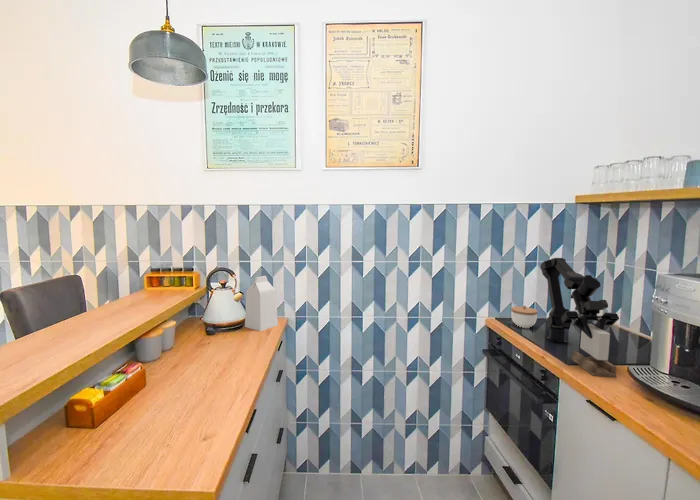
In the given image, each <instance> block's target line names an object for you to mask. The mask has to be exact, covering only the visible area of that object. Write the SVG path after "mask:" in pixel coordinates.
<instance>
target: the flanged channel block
mask: <svg viewBox="0 0 700 500" xmlns="http://www.w3.org/2000/svg"><path fill="white" fill-rule="evenodd" d="M571 360H572V361H573V362H575V364H577V365H578V366H580V367H581V368H582V369H583V370H585V371H586V372H587V373H588V374H590V375H591V376H593V377H605V378H607V377H609V378H617V373H616V372H617V366H615V365H614V364H612V363H611V362H610V361H609V360H597V359H596V358H594V357H593V356H591V355H590V354H589V357H587V356H584V355H583V354H582V353H580V352H578V351H577V350H573V351H572V356H571Z"/></svg>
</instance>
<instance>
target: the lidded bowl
mask: <svg viewBox="0 0 700 500" xmlns="http://www.w3.org/2000/svg"><path fill="white" fill-rule="evenodd" d="M510 309H511V320H512V322H513V323H514V324H515V326H516V325H517V326H516V327H518V326H519V327H518V328H521V327H522V328H521V329H531V328H532V327H533V326H534V325H535V324H536V322H537V319H538V314H539V313H538V312H539V311H538V310H537V309H536V308H532V307H526V305H523V306H513V307H511V308H510ZM530 327H531V328H530Z"/></svg>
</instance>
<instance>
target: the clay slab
mask: <svg viewBox="0 0 700 500" xmlns="http://www.w3.org/2000/svg"><path fill="white" fill-rule="evenodd" d="M594 325H595V324H592V323H588V326H589V328H590V331H591V334H592V338H589V337H588V336H587V335H586V334H585V333H584V332H583V331H582V330H581V333H580V347H579V348H580V349H581V350H583V351H584V352H585V353H587V354H589V356H590V355H591V356H593V357H594V358H596V359H597V360H607V361H609V354H610V352H609V351H610V342H611V341H610V339H611V337H610V336H611V333H609V332H608V331H606V330H605V329H604V330H602V329H600V328H598V327H596V326H594Z"/></svg>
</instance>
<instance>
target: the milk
mask: <svg viewBox="0 0 700 500" xmlns="http://www.w3.org/2000/svg"><path fill="white" fill-rule="evenodd" d="M277 306H278V305H277V292H276V289H275V288H274V287H273V285H272V284H271V283H270V282H269V280H268V278H267V276H266V275H263V276H255V279H254V282H253V283H252V285H250V286H249V288H247V290H246V294H245V315H244V316H245V317H244V318H245V320H244V327H245V328H247V329H251V330H255V331H259V332H262V331H265V330H268V329H272V328H274V327H277V326H278V325H279V323H278V307H277Z"/></svg>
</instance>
